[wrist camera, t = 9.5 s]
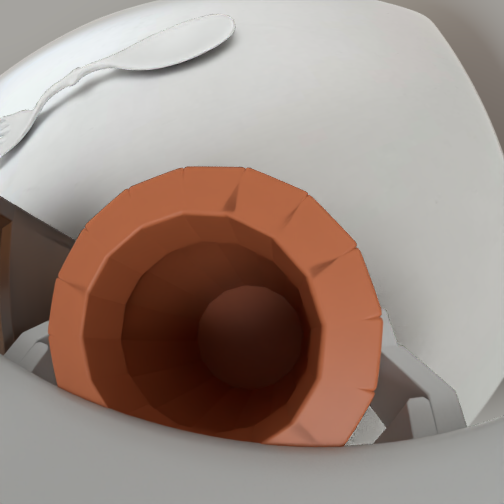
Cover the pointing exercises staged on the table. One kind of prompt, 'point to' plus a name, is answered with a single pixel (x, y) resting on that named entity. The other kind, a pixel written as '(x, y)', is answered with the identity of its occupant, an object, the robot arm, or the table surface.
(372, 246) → the table surface
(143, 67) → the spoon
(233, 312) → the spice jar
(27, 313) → the box
